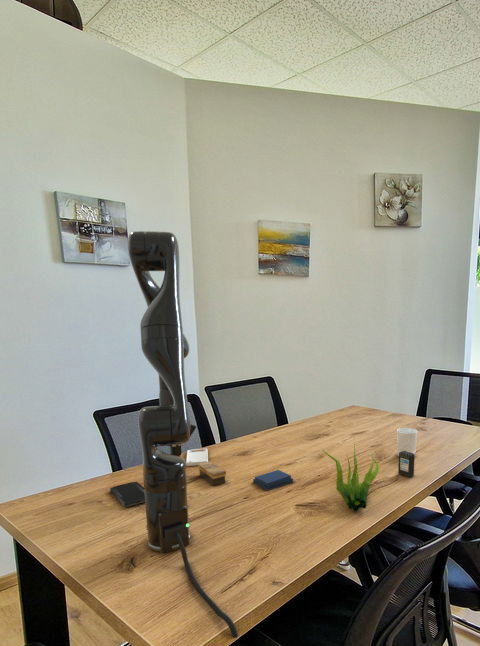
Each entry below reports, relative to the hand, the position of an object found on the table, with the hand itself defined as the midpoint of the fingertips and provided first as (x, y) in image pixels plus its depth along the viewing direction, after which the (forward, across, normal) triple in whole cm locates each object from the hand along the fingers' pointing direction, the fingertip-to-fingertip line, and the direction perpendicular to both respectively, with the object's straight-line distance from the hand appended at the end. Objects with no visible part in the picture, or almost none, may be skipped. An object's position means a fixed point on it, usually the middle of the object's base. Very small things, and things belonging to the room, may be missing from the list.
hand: (176, 457), depth 133 cm
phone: (+10, -13, +3) cm, 17 cm away
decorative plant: (+10, +39, -35) cm, 54 cm away
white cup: (+10, +78, -25) cm, 83 cm away
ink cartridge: (+10, +63, -38) cm, 74 cm away
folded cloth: (+10, +25, -15) cm, 31 cm away
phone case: (+10, +15, +22) cm, 28 cm away
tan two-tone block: (+10, +11, 0) cm, 15 cm away
